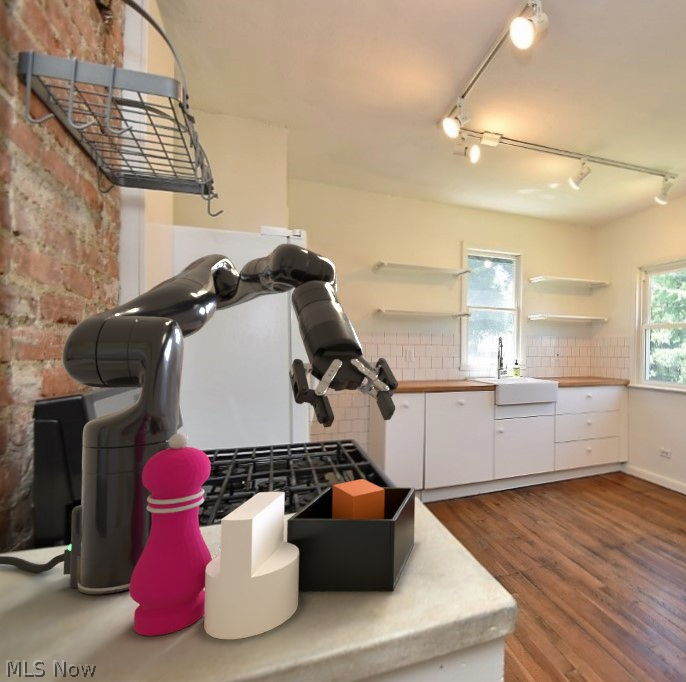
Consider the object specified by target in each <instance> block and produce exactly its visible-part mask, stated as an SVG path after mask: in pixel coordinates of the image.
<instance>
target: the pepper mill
mask: <svg viewBox="0 0 686 682" xmlns="http://www.w3.org/2000/svg"><path fill="white" fill-rule="evenodd" d="M189 443H190V438H189V436H188V435H187V434H186V433H182V432H177V434H175V435H173V436H172V437H171V438H170V439H169V445H170V447H171V448H169V449H166V450H163V451H160V452H158V453H157V454H155V455H154V456H152V457H151V458H150V459H149V460H148V461H147V463H146V465H145V467H144V469H143V474H142V482H143V485H144V486H145V487H146V488H147V489H148V490H149V491H150V492H151V493H152V494H151V495H150V496H149V497H148V498H147V501H148V506H147V510H148V511H149V512H151V515H152V525H151V531H150V535H149V539H148V542H147V544H146V546H145V549H144V551H143V553H142V555H141V556H140V558H139V560H138V562H137V564H136V566H135V569H134V571H133V574H132V577H131V582H130V589H129V590H128V591H129V596H130V598H131V599H132V601H133V602H135V603H136V604H138V606H137V607H136V608H135V610H134V616H133V630H134V632H136V633H137V634H138V635H142V636H149V637H153V636H162V635H166V634H171V633H174V632H177V631H179V630H182V629H184V628H186V627H189V626H191V625H193V624H194V623H195V622H197V621H199V619H201V618H202V617H204V613H205V572H206V567H207V565H208V564H209V562H210V561H211V560H213V558H212V554H211V552H210V549H209V547H208V546H207V543H206V541H205V539H204V537H203V535H202V532H201V528H200V521H199V512H200V506H201V505H202V504H203V503H204V502H205V497H204V494H205V489H204V488H203V487H202V486H203V485H204V484H205V483H206V481H208V479H209V478H210V475H211V470H212V469H211V468H212V467H211V460H210V458H209V456H208V455H207V453H206V452H204V451H203V450H201V449H199V448H196V447H193V446H188V445H189Z"/></svg>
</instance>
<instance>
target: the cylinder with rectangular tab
mask: <svg viewBox="0 0 686 682" xmlns="http://www.w3.org/2000/svg"><path fill="white" fill-rule="evenodd" d="M285 494H286V493H285V491H264V492H263V491H261V492H257V493H256V494H254V495H253V496H252V497H251V498H249V499H248V500H246V501H245V502H243V503H242V504H241V505H240V506H238V507H237V508H235V509H234V510H232V511H231V512H230V513H228V514H227V515H225V516H224V517H223V518H221V520H220V553H219V555H218V554H217V556H216V557H214V558H212V560H211V561H210V562H209V564H208V565H207V567H206V572H205V587H204V591H205V613H204V615H203V617H204V619H203V620H204V621H203V628H204V631H205V633H206V634H207V635H209V636H210V637H212V638H215V639H219V640H239V639H247V638H251V637H254V636H257V635H261V634H263V633H266V632H268V631H271V630H273V629H275V628H277V627H279V626H280V625H282V624H283V623H285V622H286V621H288V620H289V619H291V617H292V616H293V615H294V614H295V612H296V611H297V609H298V606H299V591H298V580H299V549H298V548H297V547H296V546H295V545H293V544H290V543H287V541H285V542H284V540H285V539H284V538H285V537H284V535H285V534H284V533H285V497H286V496H285Z"/></svg>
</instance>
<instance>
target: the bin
mask: <svg viewBox="0 0 686 682" xmlns="http://www.w3.org/2000/svg"><path fill="white" fill-rule="evenodd" d="M380 487H381V486H380ZM381 488H383V489H384V490H385V492H384V519H332V501H333V486H328V487H326V488H325V489H324V490H323V491H321V492H320V493H319V494H318V495H316V496H315V497H314V498H313V499H312V500H310V501H309V502H308V503H307V504H305V505H304V506H303V507H301V508H300V509H298V511H296V512H295V513H294V514H293V515H292V516H290V518H288V519H287V520H286V521H287V522H286V523H287V524H286V543H290V544H293V545H295V546H296V547H297V548H298V549H299V580H298V592H394V591H395V588H396V586H397V584H398V582H399V580H400V578H401V575H402V573H403V571H404V569H405V566H406V564H407V561H408V559H409V557H410V554H411V552H412V550H413V548H414V546H415V520H416V519H415V518H416V517H415V515H416V513H415V512H416V487H405V486H404V487H401V486H400V487H393V486H392V487H391V486H390V487H387V486H386V487H385V486H382V487H381Z"/></svg>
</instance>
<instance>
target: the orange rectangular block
mask: <svg viewBox="0 0 686 682" xmlns="http://www.w3.org/2000/svg"><path fill="white" fill-rule="evenodd" d="M332 487H333V501H332V519H384V492H385V490H384V489H383V488H381V486H378V485H376V484H375V483H373V482H371V481H368V480H366V479H364V478H360V479H355V480H350V481H346V482H341V483H336V484H332Z"/></svg>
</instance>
